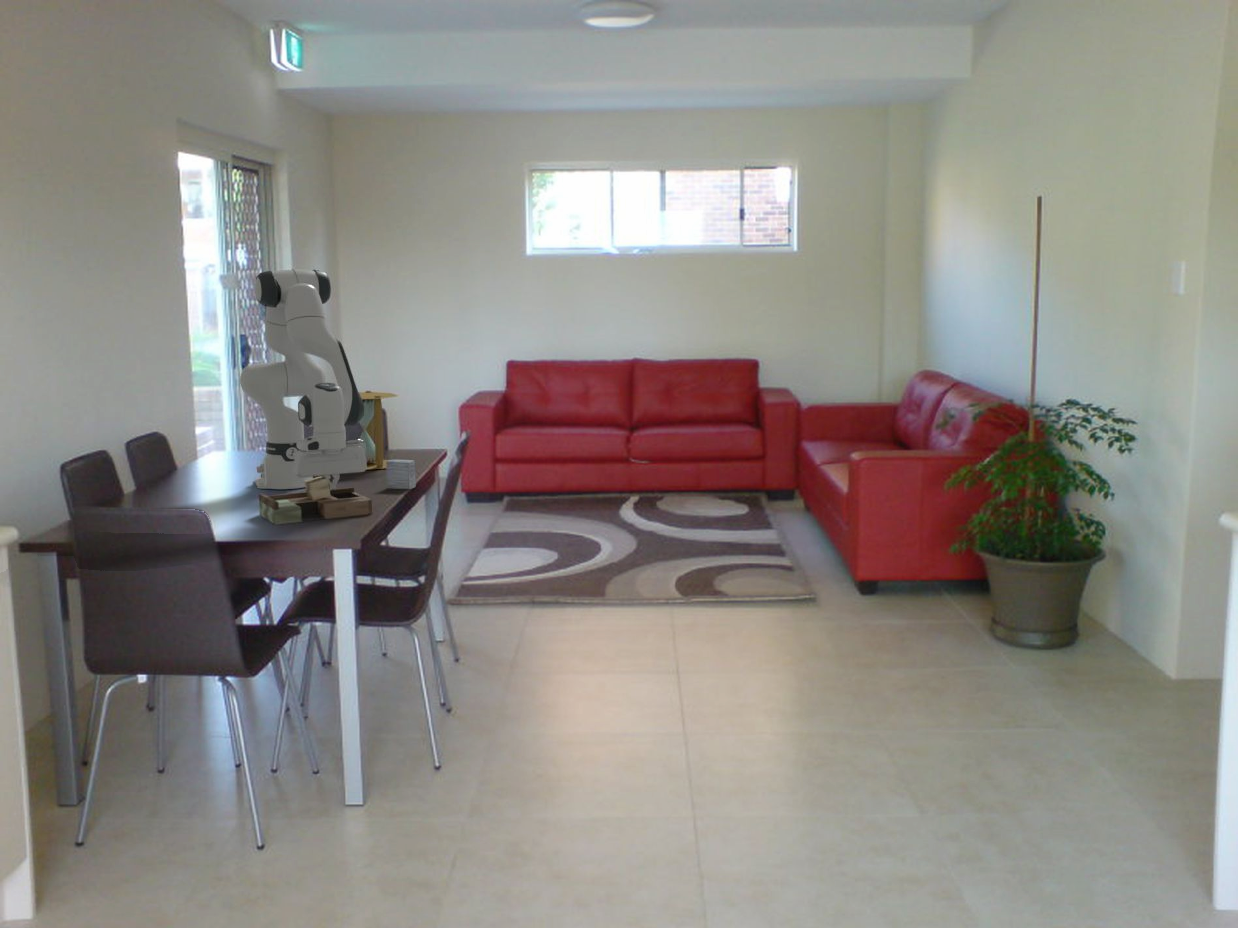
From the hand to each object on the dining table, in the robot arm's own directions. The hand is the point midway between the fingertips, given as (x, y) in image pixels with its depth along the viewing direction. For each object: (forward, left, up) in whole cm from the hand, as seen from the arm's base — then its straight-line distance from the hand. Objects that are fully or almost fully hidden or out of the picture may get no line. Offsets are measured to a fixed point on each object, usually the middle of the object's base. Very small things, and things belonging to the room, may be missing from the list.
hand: (331, 490), depth 334 cm
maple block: (0, -4, -2) cm, 4 cm away
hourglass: (-70, +36, -6) cm, 79 cm away
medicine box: (-23, +30, -6) cm, 39 cm away
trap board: (+2, -6, -6) cm, 8 cm away
